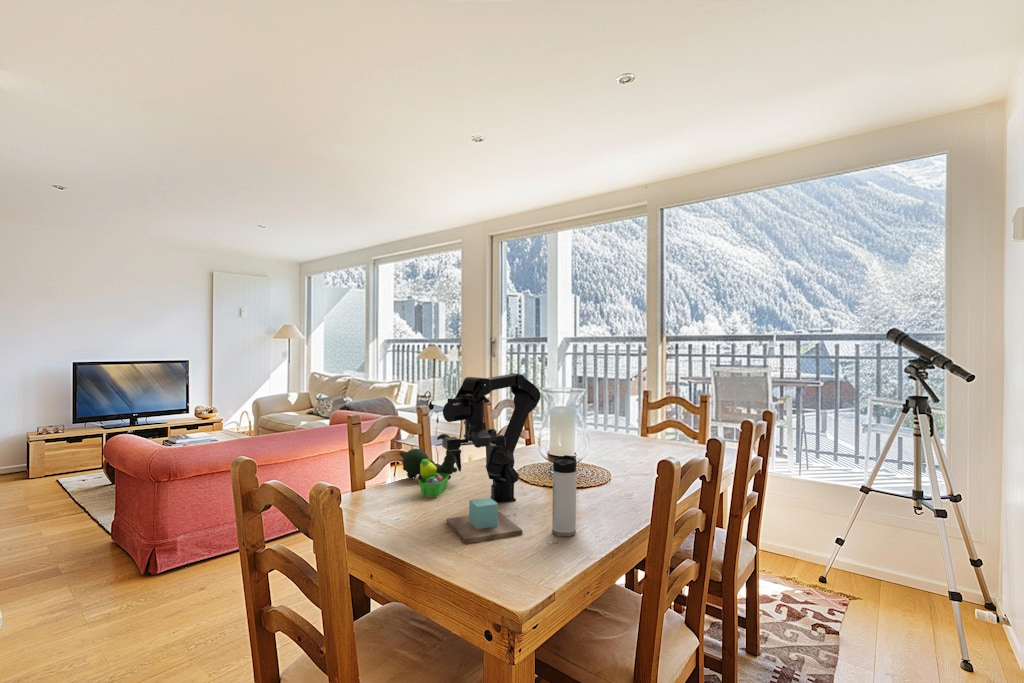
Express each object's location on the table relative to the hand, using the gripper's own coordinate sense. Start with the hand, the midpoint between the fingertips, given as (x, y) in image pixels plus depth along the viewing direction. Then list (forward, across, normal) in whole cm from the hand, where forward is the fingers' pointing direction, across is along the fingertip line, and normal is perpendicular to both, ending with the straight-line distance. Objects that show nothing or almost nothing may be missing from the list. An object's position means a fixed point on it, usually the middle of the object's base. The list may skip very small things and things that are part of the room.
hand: (474, 469), depth 152 cm
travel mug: (+12, +16, -27) cm, 34 cm away
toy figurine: (+12, -5, +36) cm, 38 cm away
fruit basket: (+12, -7, +21) cm, 25 cm away
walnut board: (+12, -3, -16) cm, 20 cm away
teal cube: (+11, -3, -16) cm, 19 cm away
